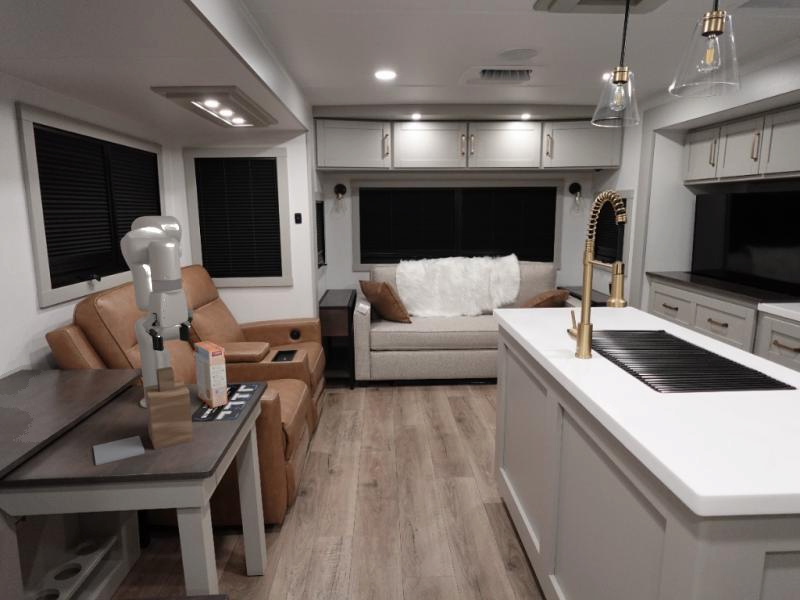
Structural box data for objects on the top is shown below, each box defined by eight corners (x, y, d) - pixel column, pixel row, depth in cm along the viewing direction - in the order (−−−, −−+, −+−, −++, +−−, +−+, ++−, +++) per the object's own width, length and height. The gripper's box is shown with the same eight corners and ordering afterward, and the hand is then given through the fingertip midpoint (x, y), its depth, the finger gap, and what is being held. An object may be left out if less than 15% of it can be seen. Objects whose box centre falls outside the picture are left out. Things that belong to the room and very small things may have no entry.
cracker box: (229, 404, 177) (225, 347, 173) (212, 409, 173) (207, 351, 169) (214, 393, 187) (209, 339, 183) (197, 397, 183) (193, 342, 179)
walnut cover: (149, 435, 153) (142, 368, 149) (186, 427, 159) (180, 361, 155) (154, 449, 144) (147, 378, 140) (193, 440, 150) (187, 371, 146)
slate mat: (93, 448, 145) (93, 446, 145) (139, 437, 152) (139, 435, 152) (96, 465, 136) (95, 463, 135) (144, 453, 142) (144, 451, 142)
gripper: (180, 279, 146) (184, 336, 149) (129, 289, 130) (136, 352, 133) (200, 281, 143) (204, 338, 146) (152, 292, 127) (158, 356, 131)
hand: (172, 345), depth 140 cm, fingers open, 9 cm apart
